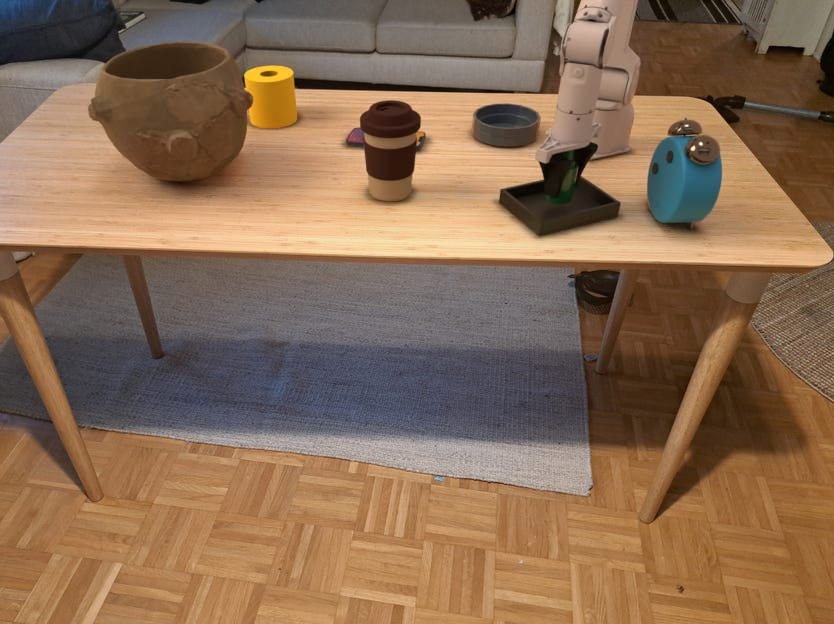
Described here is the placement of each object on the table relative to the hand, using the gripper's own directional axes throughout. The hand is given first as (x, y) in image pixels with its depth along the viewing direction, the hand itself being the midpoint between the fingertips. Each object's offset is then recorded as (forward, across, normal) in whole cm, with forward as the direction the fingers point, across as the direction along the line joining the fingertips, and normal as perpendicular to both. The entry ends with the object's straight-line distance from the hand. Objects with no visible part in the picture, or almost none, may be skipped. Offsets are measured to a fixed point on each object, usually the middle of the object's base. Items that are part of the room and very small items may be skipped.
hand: (560, 190), depth 111 cm
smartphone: (+3, +1, -40) cm, 40 cm away
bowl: (+4, +37, -57) cm, 68 cm away
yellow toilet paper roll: (+4, +10, -65) cm, 66 cm away
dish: (+3, -18, -26) cm, 31 cm away
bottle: (+1, 0, 0) cm, 1 cm away
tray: (+3, 0, 0) cm, 3 cm away
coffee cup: (+4, +16, -24) cm, 29 cm away
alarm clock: (+4, -11, +14) cm, 18 cm away
